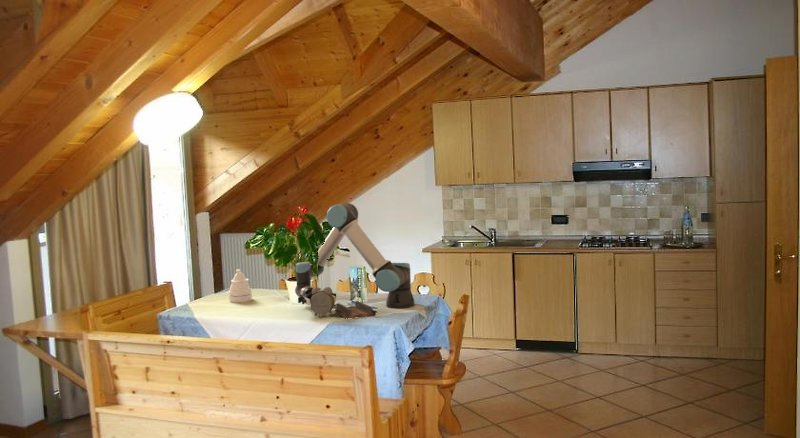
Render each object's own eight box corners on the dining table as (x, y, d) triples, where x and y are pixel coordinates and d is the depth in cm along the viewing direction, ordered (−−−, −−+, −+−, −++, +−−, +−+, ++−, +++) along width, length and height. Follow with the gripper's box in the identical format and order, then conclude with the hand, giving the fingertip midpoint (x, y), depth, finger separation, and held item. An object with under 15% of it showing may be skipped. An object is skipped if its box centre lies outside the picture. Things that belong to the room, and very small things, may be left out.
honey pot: (249, 302, 392) (247, 270, 390) (226, 302, 392) (224, 271, 391) (254, 297, 405) (252, 267, 403) (232, 298, 405) (230, 268, 403)
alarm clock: (335, 315, 347) (334, 286, 346) (331, 318, 340) (329, 288, 339) (314, 315, 350) (312, 286, 349) (309, 318, 343) (307, 288, 342)
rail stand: (360, 309, 361) (359, 300, 361) (373, 315, 345) (373, 306, 344) (334, 312, 355) (334, 303, 355) (347, 319, 339) (346, 310, 338)
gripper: (332, 298, 368) (346, 305, 349) (286, 304, 358) (298, 311, 339) (331, 284, 368) (345, 290, 349) (286, 289, 357) (297, 296, 338)
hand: (322, 300), depth 344 cm, fingers open, 13 cm apart
